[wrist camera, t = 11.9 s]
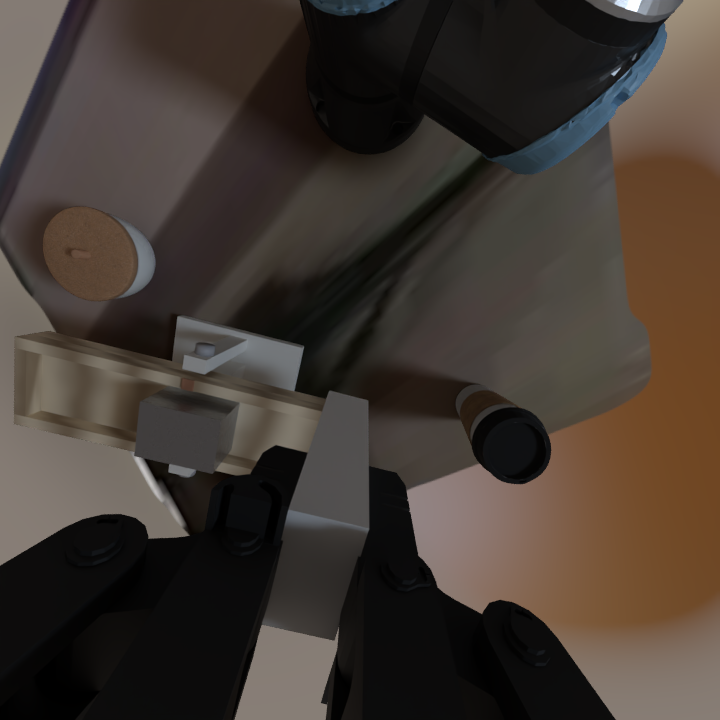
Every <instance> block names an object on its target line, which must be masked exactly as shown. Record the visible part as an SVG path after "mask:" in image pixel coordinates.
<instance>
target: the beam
mask: <svg viewBox="0 0 720 720" xmlns="http://www.w3.org/2000/svg"><path fill="white" fill-rule="evenodd" d="M182 368H183V364H181V363H177V362H173V361H169V360H165V359H161V358H157V357H152V356H148V355H144V354H140V353H136V352H132V351H128V350H124V349H120V348H116V347H112V346H108V345H104V344H100V343H95V342H91V341H87V340H83V339H79V338H75V337H71V336H67V335H63V334H59V333H55V332H51V331H46V332H40V333H34V334H28V335H22V336H17V337H15V376H14V377H15V378H14V389H15V390H14V424H16V425H21V426H25V427H29V428H34V429H38V430H42V431H47V432H51V433H55V434H60V435H64V436H68V437H72V438H77V439H81V440H85V441H90V442H95V443H99V444H103V445H107V446H111V447H116V448H120V449H124V450H129V451H133V452H135V444H136V435H137V425H138V415H139V405H140V401H142V400H144V399H146V398H148V397H149V396H151V395H153V394H155V393H157V392H159V391H160V390H162V389H164V388H166V387H168V386H173V387H177V388H181V389H183V390H187V391H193V392H198V393H202V394H206V395H210V396H214V397H218V398H223V399H227V400H231V401H235V402H239V403H240V405H239V411H238V416H237V422H236V427H235V433H234V439H233V444H232V450H231V451H230V452H229V453H228V455H227V456H226V457H225V459H224V460H223V461H222V462H221V464H220V465H219V466H218V468H217V469H216V470H215V471H219V472H224V473H228V474H232V475H245V474H250V473H251V471H252V470H253V468H254V466H256V463H257V461H258V460H259V458H260V456H261V455H262V453H263V452H265V451H266V450H268V449H270V448H271V447H273V446H275V445H278V446H282V447H286V448H290V449H295V450H299V451H303V452H307V453H308V451H309V448H310V445H311V442H312V439H313V436H314V434H315V431H316V428H317V425H318V422H319V419H320V416H321V413H322V410H323V407H324V405H325V402H326V399H323V398H319V397H315V396H311V395H307V394H303V393H299V392H295V391H291V390H287V389H283V388H279V387H275V386H271V385H266V384H262V383H258V382H254V381H250V380H246V379H242V378H238V377H234V376H230V375H226V374H222V373H218V372H214V371H210V372H208V373H206V374H200V373H196V372H192V371H188V370H184V369H182Z"/></svg>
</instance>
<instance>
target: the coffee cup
mask: <svg viewBox="0 0 720 720" xmlns="http://www.w3.org/2000/svg"><path fill="white" fill-rule="evenodd" d="M455 404H456V410H457V412H458V414H459V416H460V419H461V421H462V424H463V426H464V429H465V431H466V434H467V436H468V438H469V441H470V443H471V445H472V450H473V453H474V456H475V457H476V459H477V461H478V462H479V463H480V464H481V465H482V466H483V467H484V468H485V469H486V470H487V471H489V472H491V474H492V475H493V476H495V477H496V478H497V479H499V480H501V481H503V482H506V483H511V484H525V483H527V482H529V481H531V480H533V479H535V478H536V477H538V476H539V475H540V474H542V473H543V471H544V470H545V469H546V467H547V465H548V463H549V460H550V455H551V443H550V439H549V436H548V435H547V433H546V430H545V428H544V426H543V424H542V422H541V421H540V420H539V419H538V418H537V417H536V416H535V415H534V414H533V413H531V412H530V411H527V410H525V409H522V408H521V407H519V406H517V405H516V404H514V403H512V402H511V401H509V400H507V399H506V398H504V397H502V396H500V395H499V394H497V393H495V392H493V391H492V390H490V389H489V388H487V387H485V386H483V385H478V384H475V385H470V386H467V387H465V388H464V389H463V390H461V392H460V393H459V394H458V396H457V398H456V403H455Z"/></svg>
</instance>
